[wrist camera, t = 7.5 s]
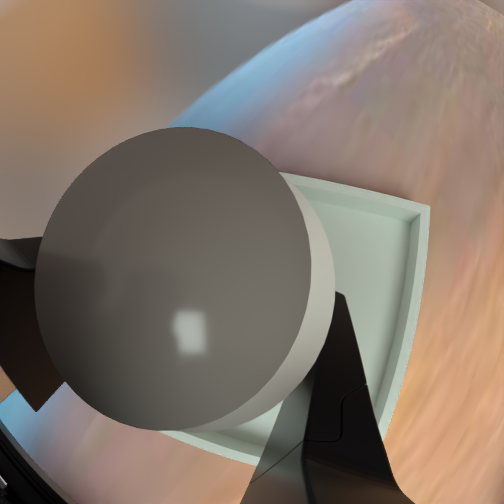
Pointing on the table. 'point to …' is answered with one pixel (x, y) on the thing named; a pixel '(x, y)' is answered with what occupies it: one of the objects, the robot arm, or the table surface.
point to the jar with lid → (183, 283)
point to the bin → (356, 298)
